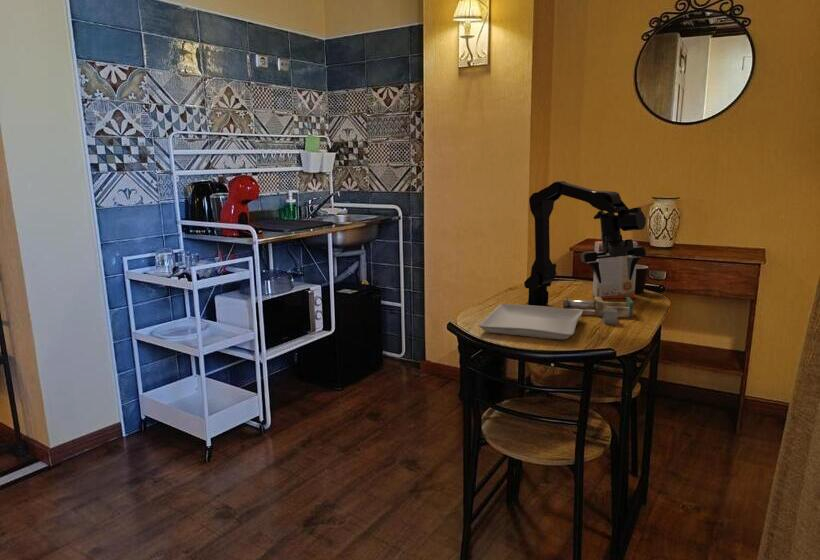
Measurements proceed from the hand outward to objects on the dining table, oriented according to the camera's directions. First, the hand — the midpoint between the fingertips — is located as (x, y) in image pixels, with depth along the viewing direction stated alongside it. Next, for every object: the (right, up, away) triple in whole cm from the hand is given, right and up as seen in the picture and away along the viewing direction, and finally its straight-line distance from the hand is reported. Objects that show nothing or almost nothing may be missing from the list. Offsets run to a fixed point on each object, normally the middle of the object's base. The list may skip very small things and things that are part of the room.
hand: (615, 281), depth 180 cm
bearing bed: (-1, -11, +11) cm, 16 cm away
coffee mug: (+22, -4, +43) cm, 48 cm away
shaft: (-6, -11, +12) cm, 17 cm away
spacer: (-1, -13, +1) cm, 13 cm away
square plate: (-27, -15, -3) cm, 30 cm away
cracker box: (+11, -6, +34) cm, 36 cm away
